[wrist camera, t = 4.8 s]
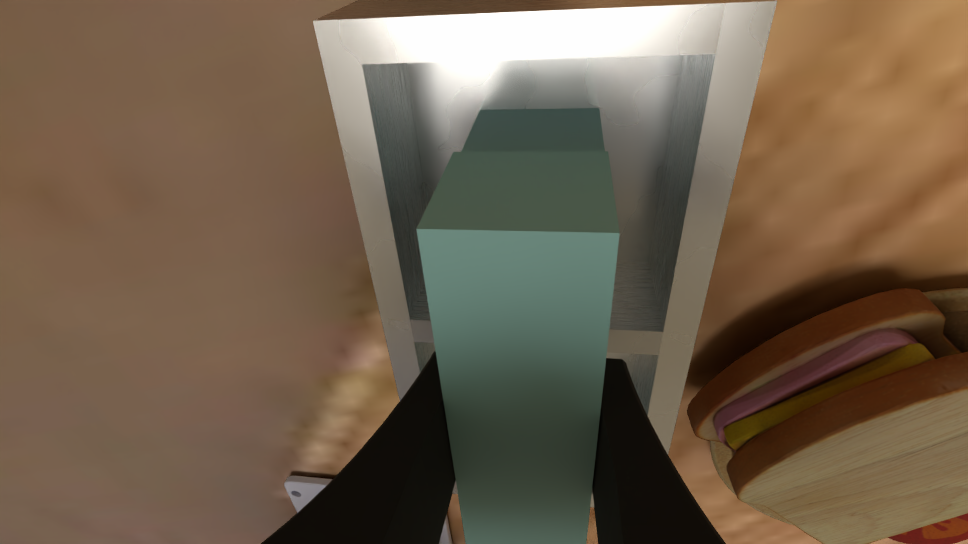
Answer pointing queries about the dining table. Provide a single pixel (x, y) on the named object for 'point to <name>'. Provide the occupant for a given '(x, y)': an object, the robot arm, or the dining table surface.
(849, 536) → the toy sandwich meal
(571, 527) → the clip
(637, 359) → the cabinet frame
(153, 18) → the dining table surface
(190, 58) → the dining table surface
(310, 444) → the dining table surface
